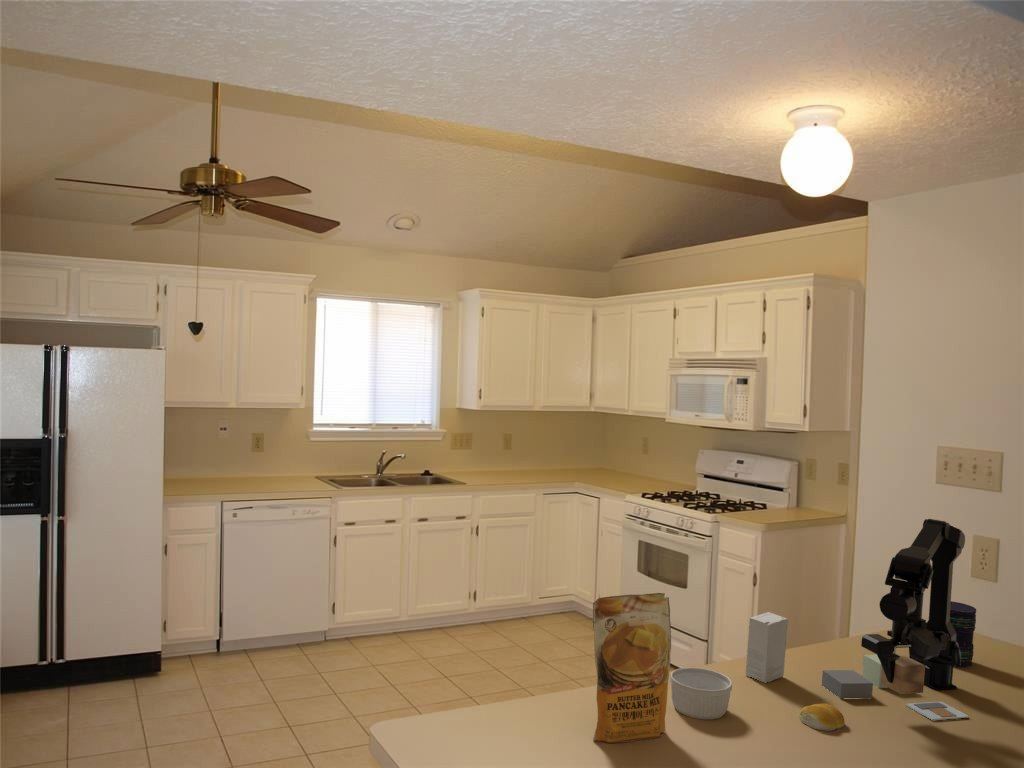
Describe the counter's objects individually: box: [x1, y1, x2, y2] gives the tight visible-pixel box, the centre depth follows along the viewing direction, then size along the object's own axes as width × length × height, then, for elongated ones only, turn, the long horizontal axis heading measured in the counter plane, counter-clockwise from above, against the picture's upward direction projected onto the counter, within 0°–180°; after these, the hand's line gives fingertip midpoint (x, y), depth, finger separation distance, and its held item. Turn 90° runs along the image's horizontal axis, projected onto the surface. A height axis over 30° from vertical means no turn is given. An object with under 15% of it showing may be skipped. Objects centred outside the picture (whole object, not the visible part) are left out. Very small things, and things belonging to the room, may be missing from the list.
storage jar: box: [950, 600, 977, 669], centre depth 221 cm, size 10×10×15 cm
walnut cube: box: [881, 655, 925, 695], centre depth 182 cm, size 6×6×6 cm
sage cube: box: [861, 654, 889, 689], centre depth 202 cm, size 6×6×6 cm
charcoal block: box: [821, 669, 874, 700], centre depth 195 cm, size 8×8×4 cm
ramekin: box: [669, 666, 733, 721], centre depth 180 cm, size 13×13×7 cm
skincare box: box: [745, 611, 789, 684], centre depth 201 cm, size 8×6×15 cm
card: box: [905, 701, 970, 721], centre depth 186 cm, size 10×8×1 cm
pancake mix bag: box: [592, 592, 672, 744], centre depth 165 cm, size 7×19×28 cm, turn 111°
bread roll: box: [798, 703, 846, 732], centre depth 177 cm, size 8×9×4 cm
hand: (902, 681), depth 182 cm, fingers closed on walnut cube, 6 cm apart
